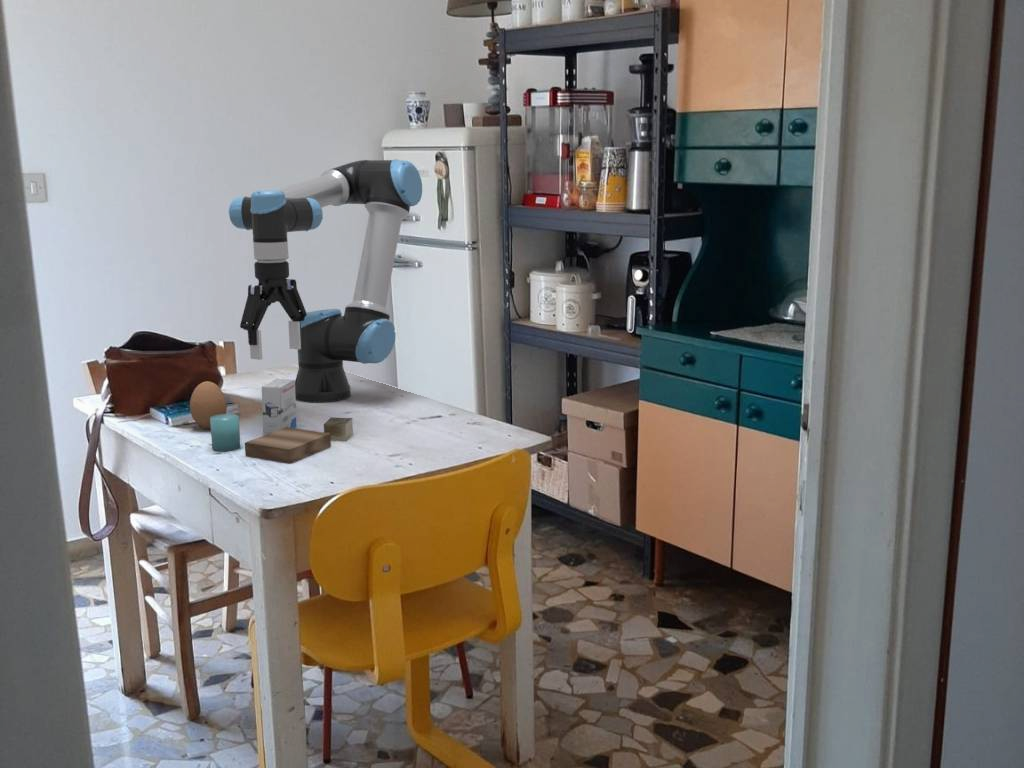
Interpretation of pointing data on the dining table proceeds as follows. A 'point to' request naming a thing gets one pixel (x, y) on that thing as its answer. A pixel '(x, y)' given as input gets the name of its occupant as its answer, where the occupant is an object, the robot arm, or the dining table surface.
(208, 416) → the egg
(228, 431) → the teal pillar candle
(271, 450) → the stand
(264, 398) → the ink box
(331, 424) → the brass tin
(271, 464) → the dining table surface
